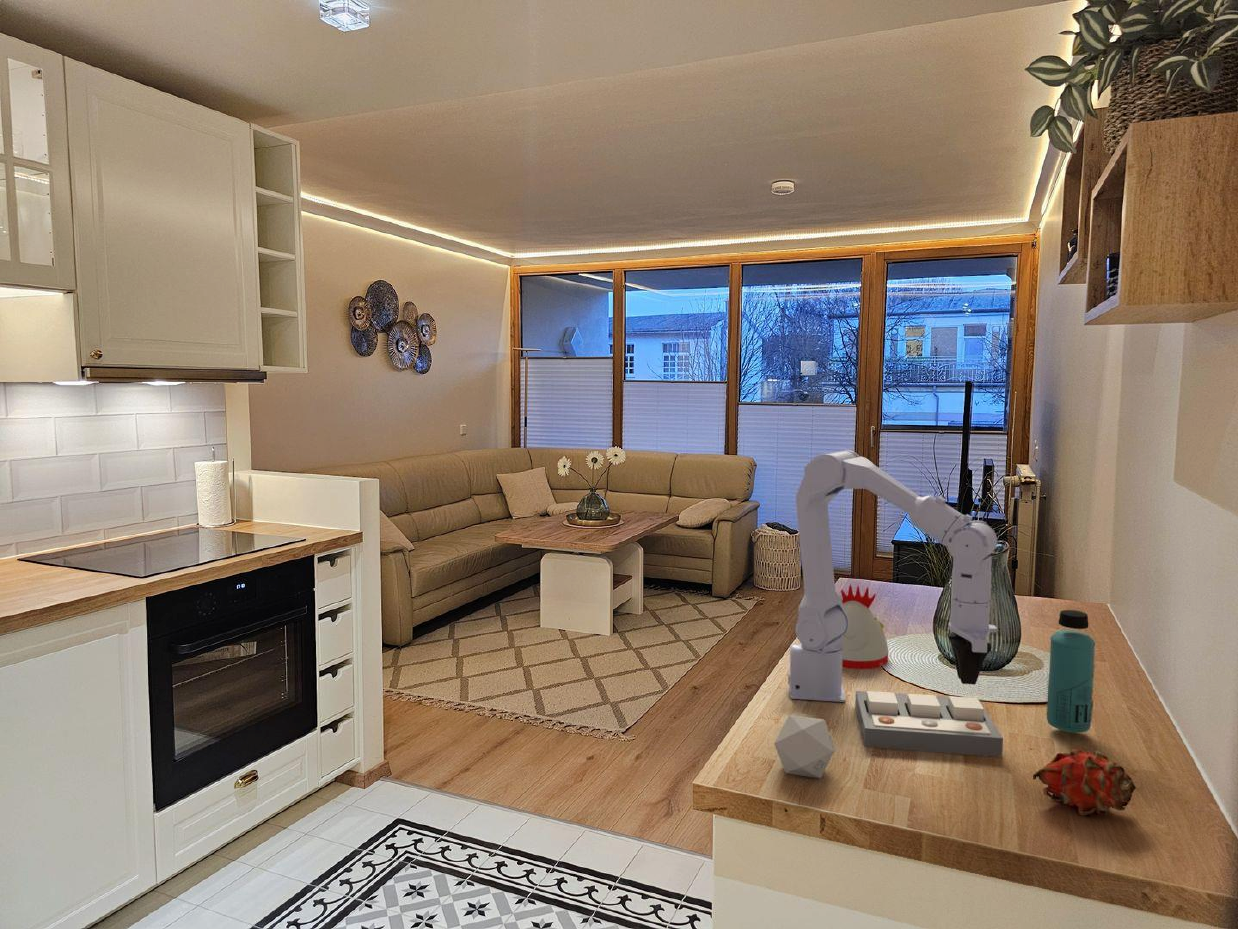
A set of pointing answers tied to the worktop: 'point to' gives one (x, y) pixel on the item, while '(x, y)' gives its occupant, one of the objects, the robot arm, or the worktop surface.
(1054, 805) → the worktop surface
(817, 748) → the die
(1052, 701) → the beverage bottle
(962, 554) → the robot arm
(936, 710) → the middle button
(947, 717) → the button board
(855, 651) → the kitchen timer
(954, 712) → the right button
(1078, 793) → the dragon fruit
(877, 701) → the left button
